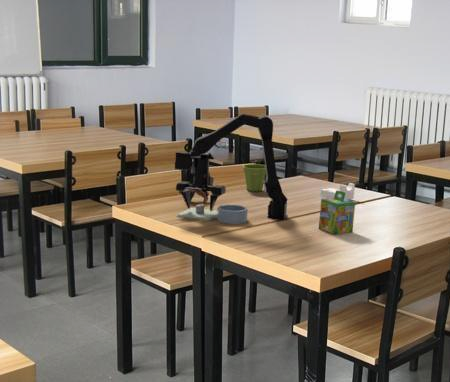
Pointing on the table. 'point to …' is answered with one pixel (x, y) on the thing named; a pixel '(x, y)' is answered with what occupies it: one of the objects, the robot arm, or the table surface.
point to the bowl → (232, 214)
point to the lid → (198, 213)
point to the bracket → (331, 192)
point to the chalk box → (337, 214)
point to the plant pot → (254, 176)
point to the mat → (200, 219)
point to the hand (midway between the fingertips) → (200, 209)
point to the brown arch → (199, 192)
